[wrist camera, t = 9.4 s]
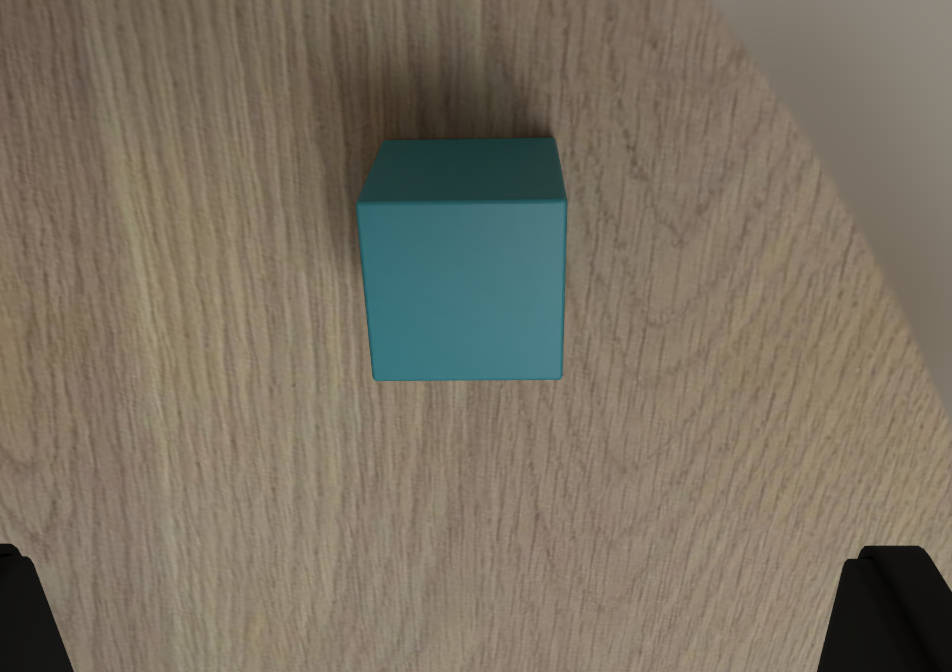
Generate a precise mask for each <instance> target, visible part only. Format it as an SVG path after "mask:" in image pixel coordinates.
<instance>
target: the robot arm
mask: <svg viewBox="0 0 952 672" xmlns="http://www.w3.org/2000/svg"><path fill="white" fill-rule="evenodd" d="M0 672H74V671H73V668H72V666H71V663H70V660H69V658H68V655H67V652H66V649H65V647H64V644H63V641H62V639H61V636H60V633H59V631H58V628H57V625H56V623H55V620H54V617H53V615H52V612H51V609H50V607H49V604H48V601H47V599H46V596H45V593H44V591H43V588H42V585H41V583H40V580H39V577H38V575H37V572H36V569H35V566H34V564H33V562H32V561H31V559H30V558H28V557H25V556H21V554H20V552H19V550H18V548H17V547H15V546H14V545H12V544H0ZM817 672H952V592H951V590H950V588H949V587H948V585H947V584H946V582H945V580H944V579H943V577H942V575H941V574H940V572H939V571H938V569H937V567H936V566H935V564H934V562H933V561H932V559H931V558H930V556H929V555H928V554H927V552H926V551H925V550H924V549H923V548H921V547H919V546H864V547H863V548H862V549H861V551H860V553H859V556H858V559H847V560H846V561H845V563H844V566H843V569H842V573H841V577H840V581H839V585H838V589H837V593H836V597H835V601H834V605H833V609H832V613H831V617H830V621H829V625H828V629H827V633H826V637H825V641H824V645H823V649H822V653H821V657H820V661H819V665H818V670H817Z"/></svg>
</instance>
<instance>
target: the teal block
mask: <svg viewBox="0 0 952 672" xmlns="http://www.w3.org/2000/svg"><path fill="white" fill-rule="evenodd" d="M356 215H357V225H358V235H359V245H360V255H361V265H362V275H363V285H364V296H365V306H366V316H367V326H368V336H369V346H370V356H371V366H372V376H373V379H374V380H375V381H438V380H559V379H561V378H562V376H563V342H564V306H565V271H566V235H567V197H566V192H565V186H564V181H563V176H562V170H561V165H560V160H559V154H558V149H557V144H556V140H555V138H552V137H550V138H491V139H432V140H385V141H383V143H382V145H381V147H380V150H379V152H378V154H377V156H376V159H375V161H374V163H373V166H372V168H371V170H370V172H369V175H368V177H367V179H366V181H365V184H364V186H363V188H362V191H361V193H360V195H359V197H358V200H357V202H356Z"/></svg>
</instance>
